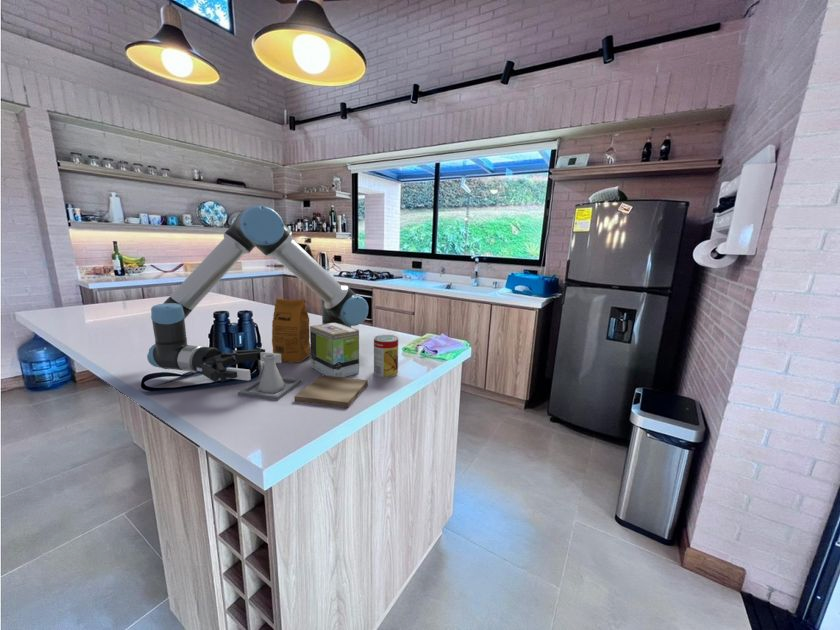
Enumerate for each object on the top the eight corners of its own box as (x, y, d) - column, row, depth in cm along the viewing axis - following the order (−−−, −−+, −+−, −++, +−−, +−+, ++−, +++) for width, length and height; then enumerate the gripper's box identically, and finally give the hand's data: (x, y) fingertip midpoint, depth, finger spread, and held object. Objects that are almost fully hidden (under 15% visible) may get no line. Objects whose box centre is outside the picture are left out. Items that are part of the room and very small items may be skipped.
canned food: (402, 372, 110) (403, 337, 107) (387, 379, 103) (388, 342, 101) (384, 367, 114) (384, 333, 112) (368, 373, 108) (368, 338, 105)
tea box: (360, 373, 108) (360, 329, 105) (333, 381, 101) (331, 334, 98) (336, 361, 119) (335, 321, 116) (310, 367, 112) (308, 325, 109)
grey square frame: (266, 378, 101) (265, 375, 101) (301, 382, 99) (301, 379, 99) (238, 395, 90) (237, 392, 90) (277, 400, 88) (277, 396, 87)
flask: (251, 393, 91) (249, 358, 89) (267, 382, 98) (265, 350, 96) (276, 395, 90) (274, 360, 88) (290, 384, 98) (288, 352, 95)
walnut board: (321, 379, 102) (321, 375, 101) (367, 384, 99) (367, 380, 99) (294, 401, 87) (294, 396, 87) (347, 407, 85) (347, 402, 84)
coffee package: (284, 352, 126) (281, 295, 122) (314, 355, 124) (312, 297, 119) (267, 361, 117) (263, 299, 112) (299, 364, 114) (296, 301, 110)
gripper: (233, 358, 109) (291, 364, 106) (162, 388, 85) (234, 397, 82) (231, 336, 108) (290, 341, 104) (158, 361, 84) (232, 369, 80)
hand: (266, 366), depth 93 cm, fingers open, 13 cm apart
